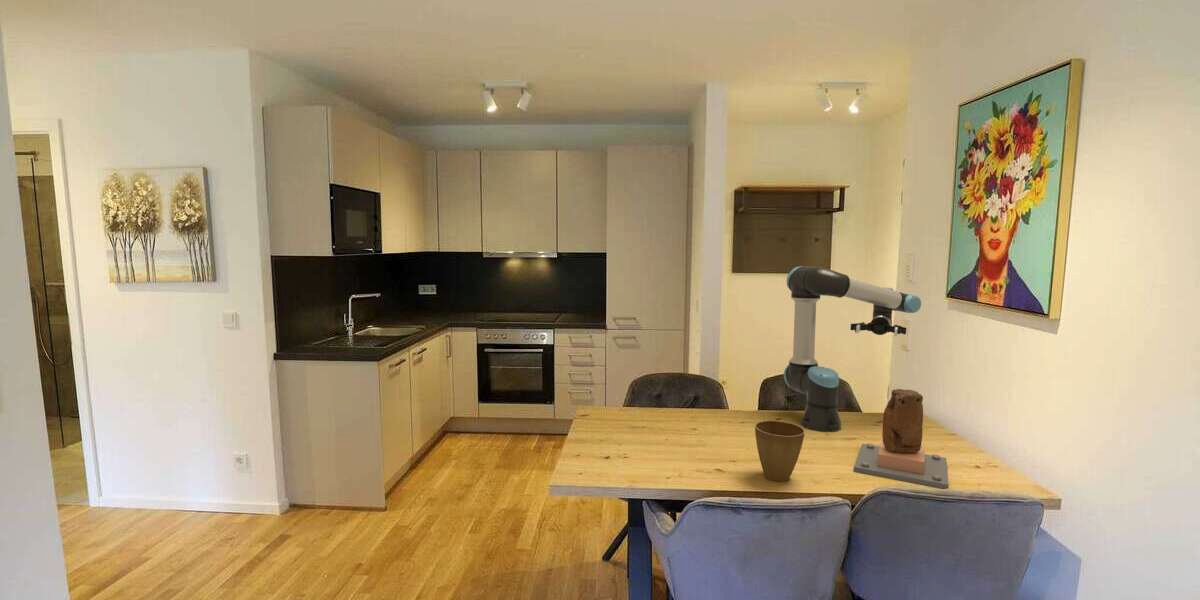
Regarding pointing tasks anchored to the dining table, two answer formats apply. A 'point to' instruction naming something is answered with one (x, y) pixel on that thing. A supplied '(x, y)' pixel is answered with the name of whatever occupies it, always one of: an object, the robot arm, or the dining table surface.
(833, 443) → the dining table surface
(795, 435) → the plant pot
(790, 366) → the robot arm
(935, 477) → the tower base
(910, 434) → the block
